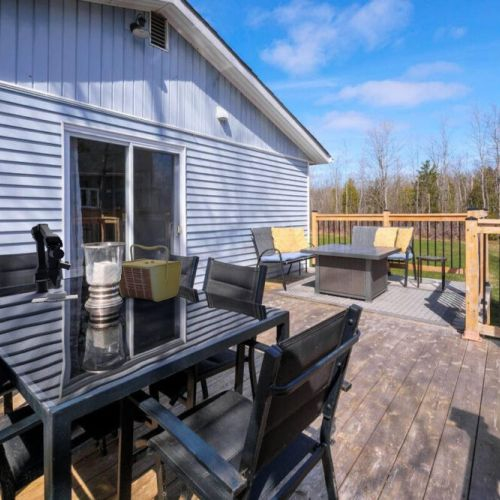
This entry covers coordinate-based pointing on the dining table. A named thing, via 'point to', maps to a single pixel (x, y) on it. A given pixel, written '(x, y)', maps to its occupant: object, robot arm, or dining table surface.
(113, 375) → the dining table surface
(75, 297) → the placemat
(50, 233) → the robot arm
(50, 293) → the donut
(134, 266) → the picnic basket
